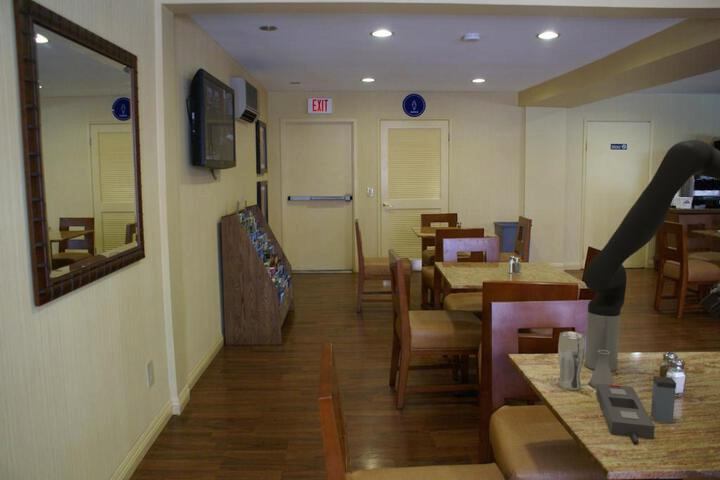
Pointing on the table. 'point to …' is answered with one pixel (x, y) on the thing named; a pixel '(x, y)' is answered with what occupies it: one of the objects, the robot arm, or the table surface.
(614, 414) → the power strip
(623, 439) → the table surface
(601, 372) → the flask
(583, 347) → the beer glass
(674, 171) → the robot arm
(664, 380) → the plug
